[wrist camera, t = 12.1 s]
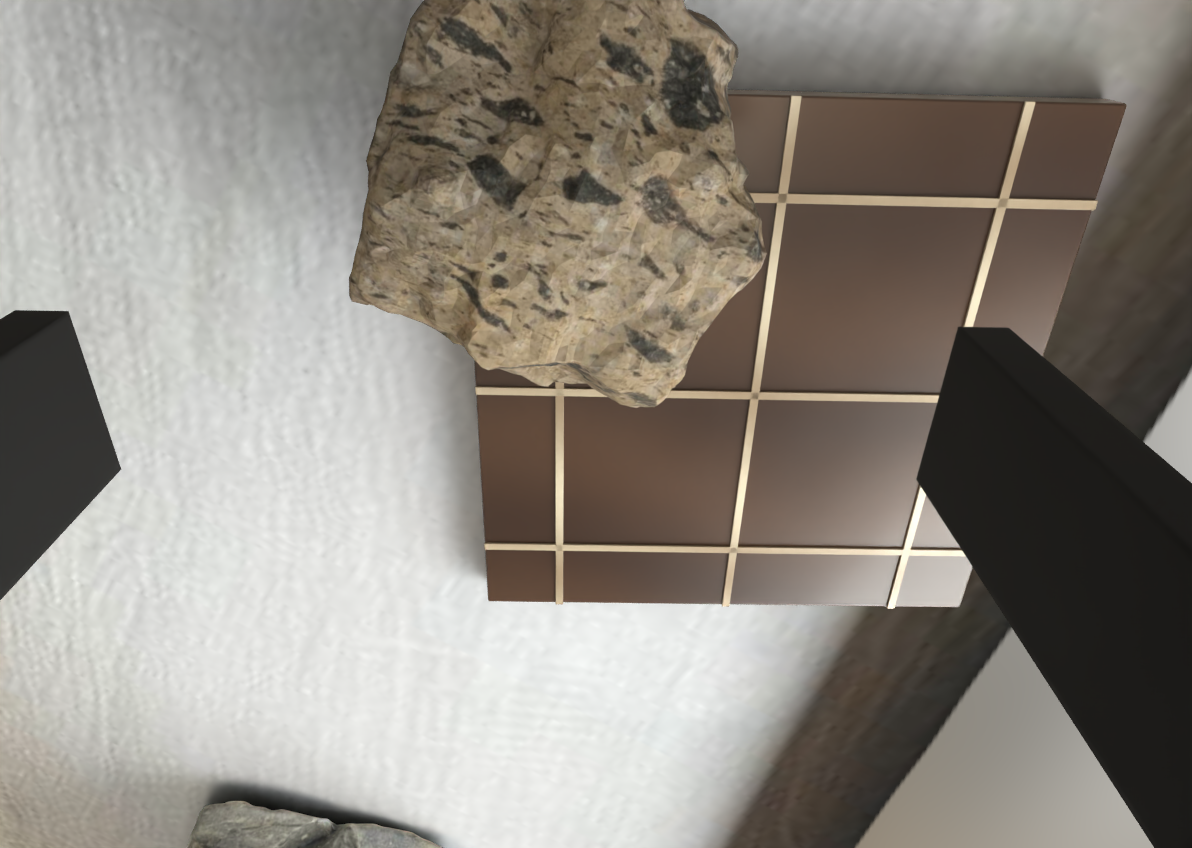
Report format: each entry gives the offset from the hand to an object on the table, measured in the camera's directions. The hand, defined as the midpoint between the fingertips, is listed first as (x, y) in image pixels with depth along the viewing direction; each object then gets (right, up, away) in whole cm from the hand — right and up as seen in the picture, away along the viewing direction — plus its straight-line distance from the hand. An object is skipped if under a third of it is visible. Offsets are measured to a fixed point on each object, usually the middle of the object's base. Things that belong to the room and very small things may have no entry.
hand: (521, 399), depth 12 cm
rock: (0, +7, +13) cm, 14 cm away
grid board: (+7, +1, +17) cm, 19 cm away
